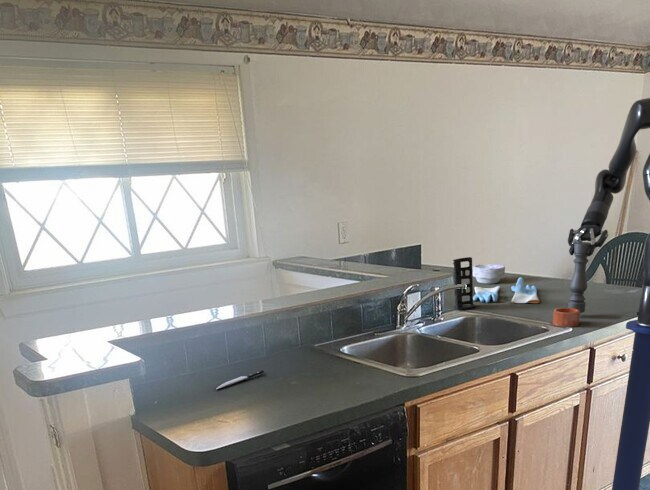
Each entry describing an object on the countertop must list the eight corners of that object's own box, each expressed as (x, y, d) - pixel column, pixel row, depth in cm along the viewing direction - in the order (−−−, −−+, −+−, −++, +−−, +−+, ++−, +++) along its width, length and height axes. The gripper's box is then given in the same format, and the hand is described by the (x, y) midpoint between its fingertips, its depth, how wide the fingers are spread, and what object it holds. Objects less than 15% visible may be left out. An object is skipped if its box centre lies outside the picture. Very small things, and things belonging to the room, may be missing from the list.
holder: (466, 310, 264) (464, 260, 258) (449, 310, 269) (446, 260, 262) (478, 305, 272) (476, 256, 266) (461, 305, 277) (459, 257, 270)
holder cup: (584, 324, 237) (585, 311, 235) (563, 328, 234) (565, 314, 232) (567, 319, 244) (568, 306, 242) (547, 322, 242) (548, 309, 240)
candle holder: (570, 308, 252) (577, 241, 242) (587, 310, 248) (594, 242, 238) (564, 312, 247) (571, 243, 237) (581, 313, 243) (588, 244, 234)
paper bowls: (508, 280, 321) (509, 264, 318) (498, 286, 309) (499, 269, 306) (478, 278, 329) (479, 262, 325) (467, 284, 317) (468, 267, 314)
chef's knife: (209, 389, 189) (215, 390, 187) (208, 385, 188) (215, 386, 186) (258, 371, 201) (265, 373, 199) (258, 368, 201) (264, 369, 199)
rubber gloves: (471, 303, 277) (472, 288, 275) (474, 288, 306) (475, 274, 304) (539, 304, 271) (540, 288, 268) (535, 288, 300) (536, 274, 297)
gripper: (574, 210, 243) (558, 247, 240) (613, 210, 234) (597, 248, 231) (578, 223, 249) (562, 259, 245) (617, 224, 240) (601, 262, 236)
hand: (579, 254), depth 238 cm, fingers closed on candle holder, 5 cm apart
